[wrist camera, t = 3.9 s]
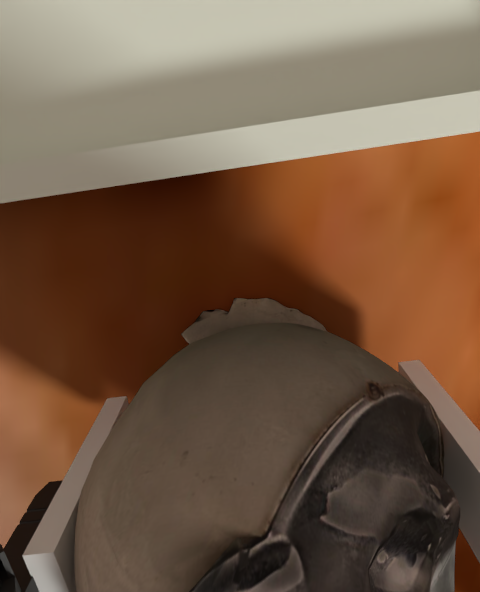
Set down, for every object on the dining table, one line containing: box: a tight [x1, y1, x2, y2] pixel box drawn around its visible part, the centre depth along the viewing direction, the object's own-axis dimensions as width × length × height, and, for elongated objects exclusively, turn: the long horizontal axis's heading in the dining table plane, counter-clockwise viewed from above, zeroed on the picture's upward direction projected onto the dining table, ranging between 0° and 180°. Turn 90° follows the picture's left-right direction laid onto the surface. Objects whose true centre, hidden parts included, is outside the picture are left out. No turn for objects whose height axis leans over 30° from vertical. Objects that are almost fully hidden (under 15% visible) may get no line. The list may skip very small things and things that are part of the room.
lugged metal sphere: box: [74, 298, 461, 592], centre depth 12 cm, size 10×12×10 cm
